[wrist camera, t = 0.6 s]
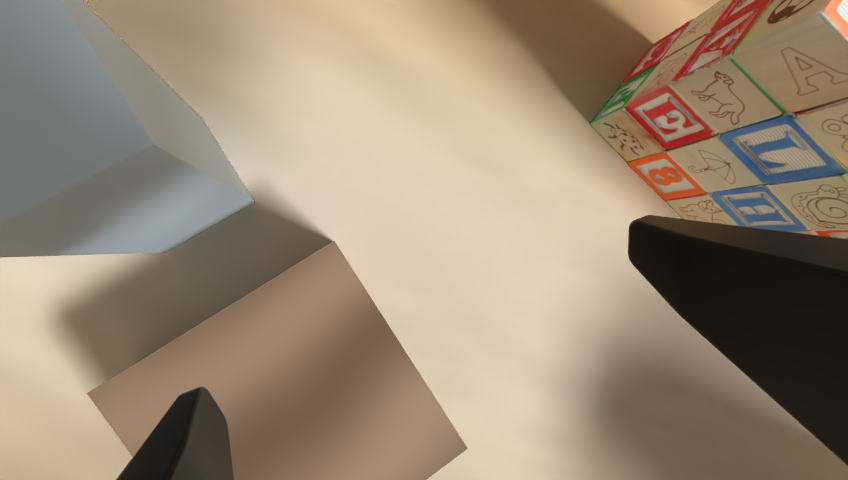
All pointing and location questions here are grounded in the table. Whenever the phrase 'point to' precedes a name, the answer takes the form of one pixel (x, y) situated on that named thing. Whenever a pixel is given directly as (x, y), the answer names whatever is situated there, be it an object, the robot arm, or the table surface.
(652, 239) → the robot arm
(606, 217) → the table surface
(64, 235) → the slate block
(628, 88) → the stack of blocks
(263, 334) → the walnut plinth
